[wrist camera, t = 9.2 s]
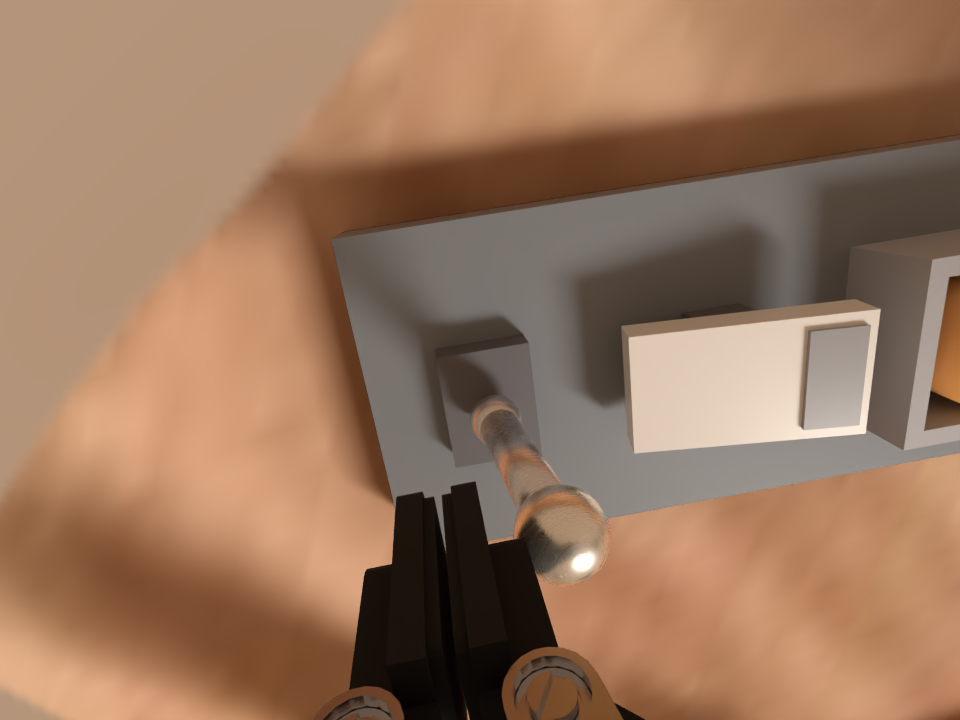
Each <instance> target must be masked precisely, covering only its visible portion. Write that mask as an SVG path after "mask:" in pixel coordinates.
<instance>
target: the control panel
mask: <svg viewBox="0 0 960 720" xmlns="http://www.w3.org/2000/svg"><path fill="white" fill-rule="evenodd" d="M331 243H332V247H333V251H334V255H335V259H336V263H337V268H338V272H339V276H340V280H341V284H342V289H343V293H344V297H345V301H346V305H347V309H348V314H349V318H350V322H351V326H352V330H353V335H354V339H355V343H356V347H357V351H358V356H359V360H360V364H361V368H362V372H363V376H364V381H365V385H366V389H367V393H368V397H369V402H370V406H371V410H372V414H373V418H374V423H375V427H376V431H377V435H378V439H379V443H380V448H381V452H382V456H383V460H384V464H385V469H386V473H387V477H388V481H389V485H390V490H391V494H392V498H393V502H394V506H395V508H396V497H397V496H402V495H407V494H412V493H417V492H423V494H424V497H425V498H428V497H433V496H434V499H435V503H436V508H437V513H438V517H439V522H440V527H441V532H442V536H443V541H444V546H445V549H446V544H445V532H444V520H443V507H442V495H444V494H449V493H451V486H453V485H458V484H463V483H469V482H474V481H476V485H477V490H478V495H479V500H480V505H481V510H482V515H483V520H484V525H485V530H486V535H487V540H488V541H490V540H495V539H501V538H506V537H511V536H513V527H514V521H515V517H516V514H517V512H518V510H517V508H516V506H515V504H514V502H513V500H512V498H511V495H510V493H509V491H508V489H507V487H506V485H505V483H504V481H503V479H502V477H501V475H500V473H499V471H498V469H497V467H496V465H495V463H494V460H493V458H492V456H491V454H490V452H489V450H488V448H487V446H486V445H485V444H483V443H482V442H480V441H479V440H478V439H477V438H476V437H475V435H474V434H473V432H472V429H471V426H470V416H471V412H472V410H473V408H474V406H475V405H476V404H477V402H479V401H480V400H481V399H483V398H484V397H487V396H490V395H501V396H505V397H507V398H509V399H510V400H512V401H513V402H514V403H515V404H516V406H517V407H518V409H519V411H520V414H521V420H522V422H521V424H522V426H523V427H524V429H525V430H526V432H527V433H528V434H529V436H530V437H531V439H532V440H533V442H534V443H535V445H536V446H537V448H538V449H539V451H540V452H541V454H542V455H543V456H544V458H545V459H546V461H547V462H548V464H549V465H550V467H551V468H552V470H553V471H554V473H555V474H556V476H557V477H558V478H559V480H560V481H561V483H562V484H564V485H570V486H574V487H577V488H579V489H581V490H583V491H585V492H586V493H588V494H589V495H591V496H592V497H593V498H594V499H595V500H596V501H597V502H598V503H599V505H600V506H601V507H602V509H603V511H604V512H605V514H606V517H607V519H608V518H613V517H618V516H624V515H629V514H634V513H640V512H645V511H650V510H656V509H661V508H667V507H672V506H677V505H683V504H688V503H693V502H699V501H704V500H709V499H715V498H720V497H725V496H731V495H736V494H742V493H747V492H752V491H758V490H763V489H768V488H774V487H779V486H784V485H790V484H795V483H800V482H806V481H811V480H817V479H822V478H827V477H833V476H838V475H843V474H849V473H854V472H859V471H865V470H870V469H875V468H881V467H886V466H892V465H897V464H902V463H908V462H913V461H918V460H924V459H929V458H934V457H940V456H945V455H950V454H956V453H960V403H958V402H956V401H953V400H951V399H949V398H946V397H944V396H941V395H939V394H936V393H934V392H932V391H931V385H932V379H933V372H934V366H935V360H936V354H937V348H938V342H939V336H940V330H941V324H942V318H943V311H944V305H945V299H946V293H947V287H948V281H949V277H953V276H958V275H960V135H955V136H949V137H942V138H936V139H930V140H923V141H917V142H911V143H904V144H898V145H892V146H885V147H879V148H873V149H866V150H860V151H854V152H847V153H841V154H835V155H828V156H822V157H816V158H809V159H803V160H797V161H790V162H784V163H778V164H771V165H765V166H759V167H752V168H746V169H740V170H733V171H727V172H721V173H714V174H708V175H702V176H695V177H689V178H683V179H676V180H670V181H664V182H657V183H651V184H645V185H638V186H632V187H626V188H619V189H613V190H606V191H600V192H594V193H587V194H581V195H575V196H568V197H562V198H556V199H549V200H543V201H537V202H530V203H524V204H518V205H511V206H505V207H499V208H492V209H486V210H480V211H473V212H467V213H461V214H454V215H448V216H442V217H435V218H429V219H423V220H416V221H410V222H404V223H397V224H391V225H385V226H378V227H372V228H366V229H359V230H353V231H347V232H342V233H341V234H339V235H337V236H336V237H334V238H332V239H331ZM851 299H856V300H859V301H861V302H864V303H866V304H869V305H872V306H874V307H877V308H879V309H881V311H880V319H879V327H878V335H877V344H876V352H875V360H874V368H873V377H872V385H871V393H870V401H869V410H868V418H867V426H866V434H856V435H844V436H832V437H821V438H809V439H797V440H786V441H774V442H762V443H751V444H739V445H727V446H716V447H704V448H692V449H681V450H669V451H657V452H646V453H634V451H633V449H632V446H631V444H630V441H629V439H628V436H627V422H626V404H625V385H624V367H623V349H622V330H621V326H625V325H634V324H642V323H651V322H660V321H668V320H677V319H686V318H694V317H703V316H712V315H721V314H729V313H738V312H747V311H755V310H764V309H773V308H781V307H790V306H799V305H807V304H816V303H825V302H833V301H842V300H851Z"/></svg>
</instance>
